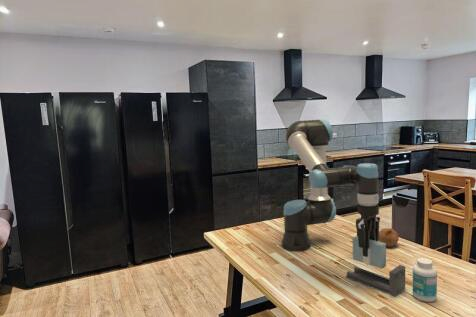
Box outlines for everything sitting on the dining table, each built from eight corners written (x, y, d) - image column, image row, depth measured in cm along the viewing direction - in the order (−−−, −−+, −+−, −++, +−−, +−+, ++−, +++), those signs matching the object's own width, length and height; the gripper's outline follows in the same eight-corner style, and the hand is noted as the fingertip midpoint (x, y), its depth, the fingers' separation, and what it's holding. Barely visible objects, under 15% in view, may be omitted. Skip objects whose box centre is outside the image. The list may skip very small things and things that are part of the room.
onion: (391, 254, 155) (393, 240, 150) (373, 244, 162) (374, 230, 157) (401, 243, 160) (403, 228, 155) (383, 234, 166) (384, 220, 161)
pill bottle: (408, 292, 116) (407, 257, 114) (427, 290, 116) (427, 255, 115) (421, 303, 108) (421, 266, 107) (441, 301, 109) (442, 264, 108)
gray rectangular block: (353, 259, 128) (352, 238, 127) (357, 257, 130) (356, 235, 129) (381, 268, 119) (381, 245, 118) (386, 266, 121) (385, 243, 120)
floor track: (345, 277, 129) (345, 257, 128) (356, 271, 134) (356, 251, 133) (395, 296, 114) (394, 273, 113) (405, 288, 119) (405, 266, 118)
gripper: (365, 209, 114) (367, 272, 117) (388, 201, 124) (389, 258, 127) (347, 206, 120) (349, 265, 123) (370, 198, 130) (371, 253, 132)
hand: (369, 262), depth 125 cm, fingers closed on gray rectangular block, 3 cm apart
